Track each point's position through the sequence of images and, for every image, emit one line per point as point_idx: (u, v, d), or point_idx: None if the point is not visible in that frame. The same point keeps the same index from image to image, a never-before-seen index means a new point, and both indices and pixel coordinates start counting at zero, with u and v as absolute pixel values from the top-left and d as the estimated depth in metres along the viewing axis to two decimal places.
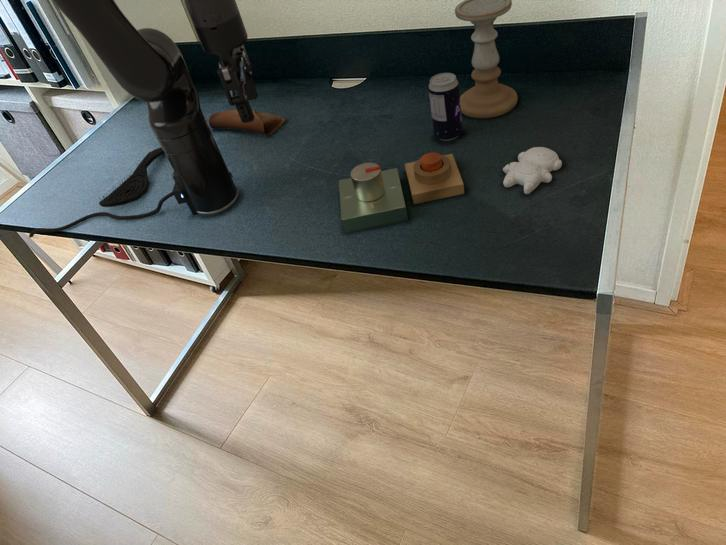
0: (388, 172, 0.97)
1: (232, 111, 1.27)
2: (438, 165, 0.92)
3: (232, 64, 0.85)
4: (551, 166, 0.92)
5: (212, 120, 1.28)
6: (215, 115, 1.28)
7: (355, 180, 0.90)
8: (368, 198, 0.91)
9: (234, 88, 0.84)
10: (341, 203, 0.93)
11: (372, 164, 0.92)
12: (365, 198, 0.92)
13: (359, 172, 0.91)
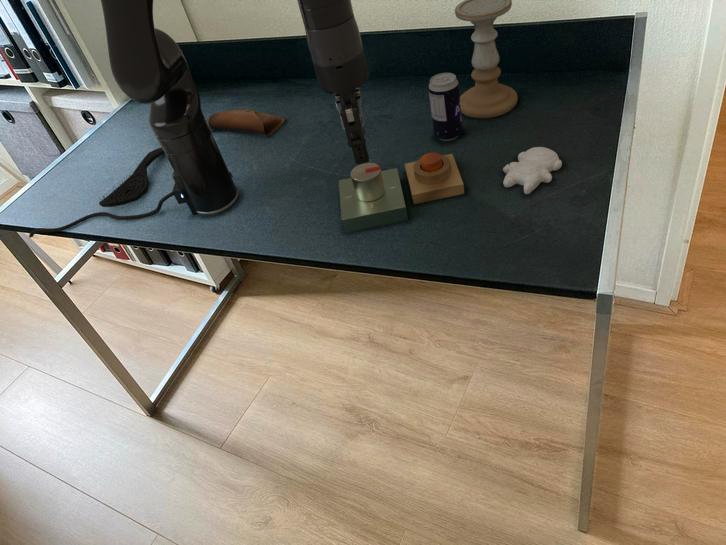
0: (388, 172, 0.97)
1: (231, 111, 1.27)
2: (438, 165, 0.92)
3: (354, 104, 0.78)
4: (551, 166, 0.92)
5: (211, 121, 1.28)
6: (214, 116, 1.28)
7: (355, 180, 0.90)
8: (368, 198, 0.91)
9: (356, 130, 0.78)
10: (341, 203, 0.93)
11: (372, 164, 0.92)
12: (365, 198, 0.92)
13: (359, 172, 0.91)
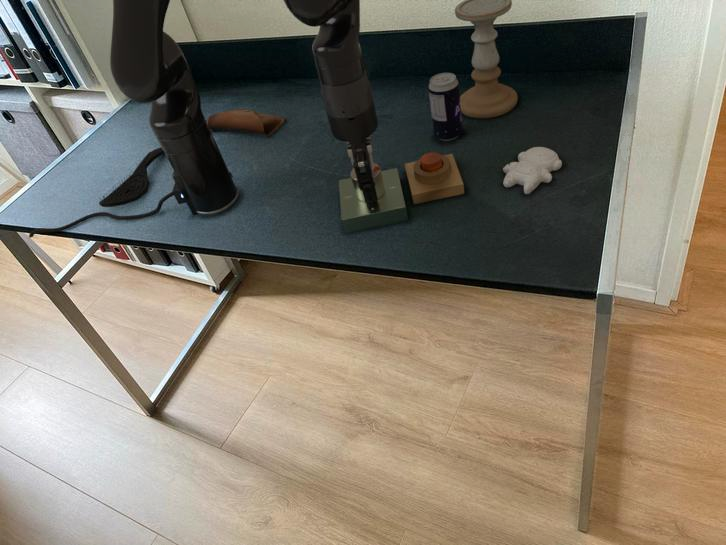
0: (388, 172, 0.97)
1: (231, 112, 1.27)
2: (438, 165, 0.92)
3: (365, 153, 0.83)
4: (551, 166, 0.92)
5: (211, 122, 1.28)
6: (214, 116, 1.27)
7: (355, 180, 0.90)
8: None
9: (367, 178, 0.84)
10: (341, 203, 0.93)
11: None
12: None
13: None
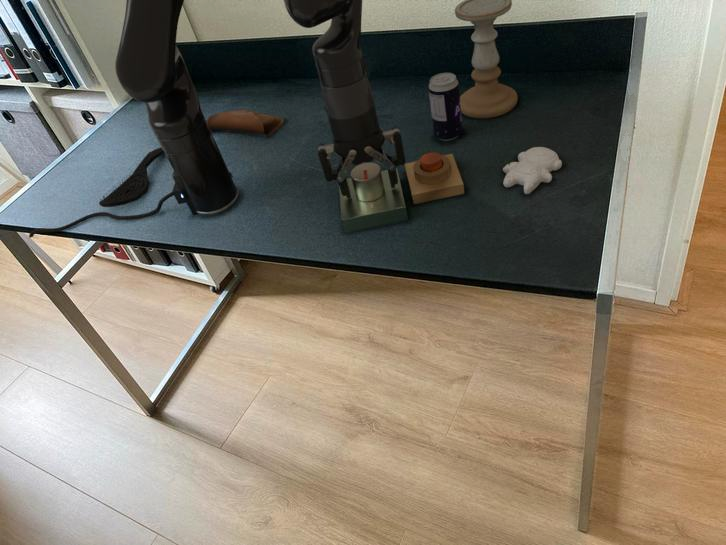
0: None
1: (230, 112, 1.26)
2: (438, 165, 0.92)
3: (334, 149, 0.86)
4: (551, 166, 0.92)
5: (210, 122, 1.28)
6: (213, 117, 1.27)
7: (354, 168, 0.92)
8: None
9: None
10: (341, 203, 0.93)
11: (374, 173, 0.89)
12: None
13: (365, 167, 0.91)
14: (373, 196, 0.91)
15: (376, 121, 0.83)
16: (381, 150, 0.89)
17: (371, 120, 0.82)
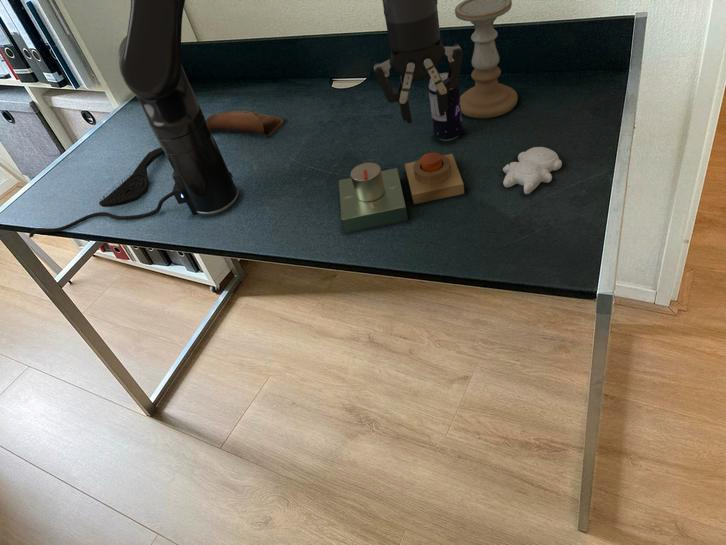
0: (388, 172, 0.97)
1: (230, 113, 1.26)
2: (438, 165, 0.92)
3: (391, 64, 0.81)
4: (551, 166, 0.92)
5: (209, 123, 1.28)
6: (212, 117, 1.27)
7: (354, 168, 0.92)
8: None
9: None
10: (341, 203, 0.93)
11: (374, 173, 0.89)
12: None
13: (365, 167, 0.91)
14: (373, 196, 0.91)
15: (438, 29, 0.77)
16: None
17: (434, 26, 0.76)
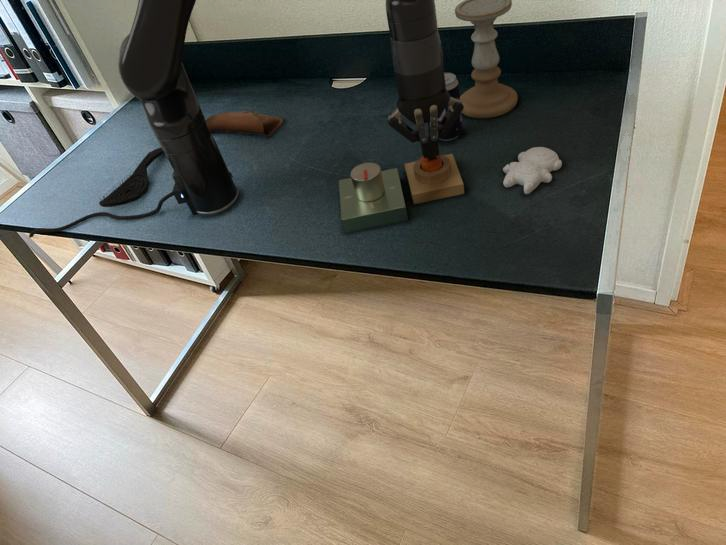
0: (388, 172, 0.97)
1: (229, 113, 1.26)
2: (438, 165, 0.92)
3: (400, 112, 0.86)
4: (551, 166, 0.92)
5: (208, 124, 1.27)
6: (212, 118, 1.27)
7: (354, 168, 0.92)
8: None
9: None
10: (341, 203, 0.93)
11: (374, 173, 0.89)
12: None
13: (365, 167, 0.91)
14: (373, 196, 0.91)
15: (444, 78, 0.82)
16: None
17: (440, 77, 0.81)
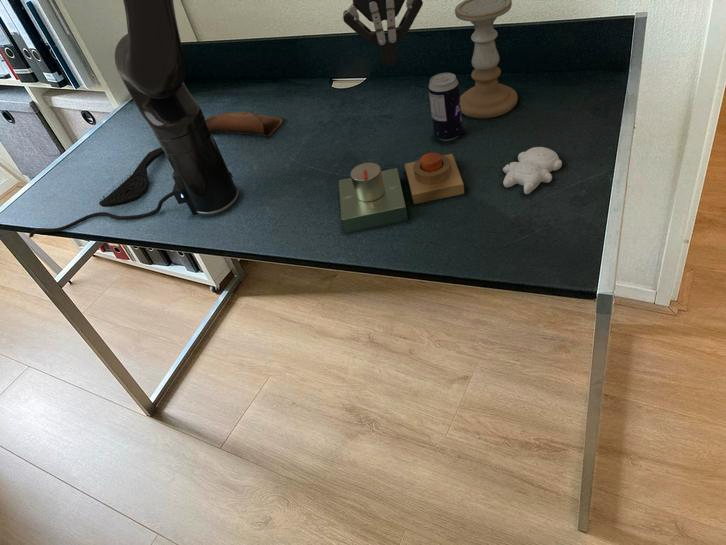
0: (388, 172, 0.97)
1: (228, 114, 1.26)
2: (438, 165, 0.93)
3: (355, 6, 0.81)
4: (551, 166, 0.92)
5: (208, 125, 1.27)
6: (211, 119, 1.27)
7: (354, 168, 0.92)
8: None
9: None
10: (341, 203, 0.93)
11: (374, 173, 0.89)
12: None
13: (365, 167, 0.91)
14: (373, 196, 0.91)
15: None
16: None
17: None
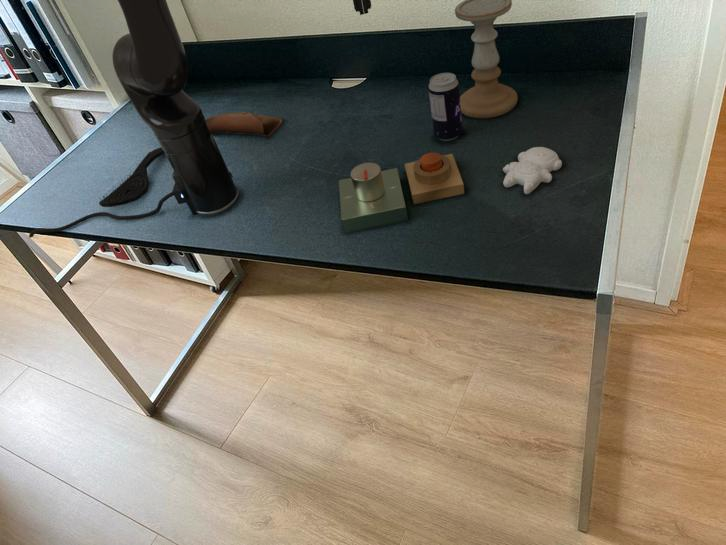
0: (388, 172, 0.97)
1: (228, 115, 1.26)
2: (438, 165, 0.93)
3: None
4: (551, 166, 0.92)
5: None
6: (210, 119, 1.26)
7: (354, 168, 0.92)
8: None
9: None
10: (341, 203, 0.93)
11: (374, 173, 0.89)
12: None
13: (365, 167, 0.91)
14: (373, 196, 0.91)
15: None
16: None
17: None
